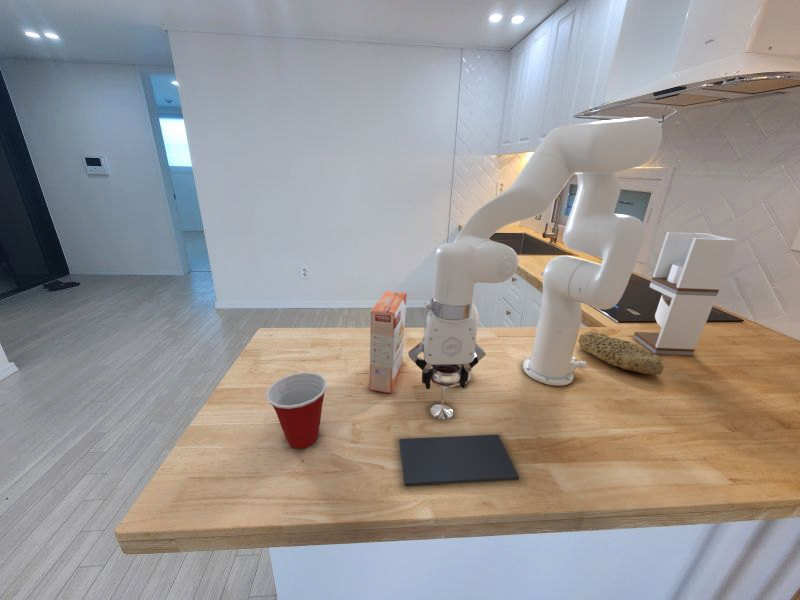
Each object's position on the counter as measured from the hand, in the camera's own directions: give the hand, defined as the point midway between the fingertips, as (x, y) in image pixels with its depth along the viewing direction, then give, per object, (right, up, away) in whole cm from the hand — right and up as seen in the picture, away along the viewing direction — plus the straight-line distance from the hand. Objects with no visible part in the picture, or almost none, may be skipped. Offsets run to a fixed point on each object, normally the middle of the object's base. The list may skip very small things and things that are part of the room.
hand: (444, 384), depth 71 cm
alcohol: (+4, -2, +15) cm, 16 cm away
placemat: (+1, -11, -9) cm, 15 cm away
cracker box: (-13, -2, +15) cm, 19 cm away
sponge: (+53, 0, +25) cm, 58 cm away
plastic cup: (-29, -9, -6) cm, 31 cm away
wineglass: (0, -7, +3) cm, 7 cm away
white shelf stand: (+74, +3, +35) cm, 82 cm away
